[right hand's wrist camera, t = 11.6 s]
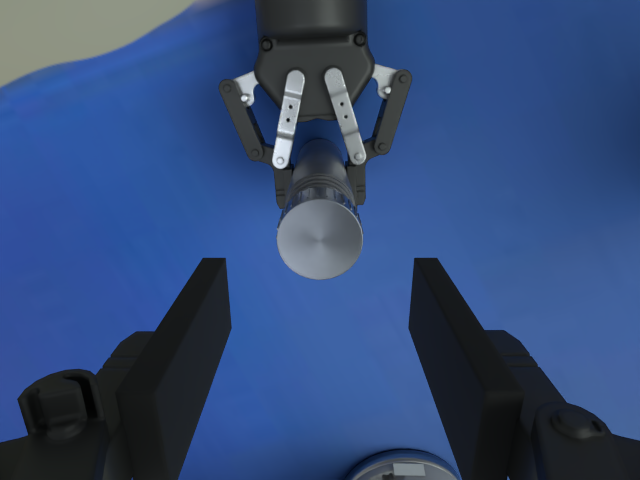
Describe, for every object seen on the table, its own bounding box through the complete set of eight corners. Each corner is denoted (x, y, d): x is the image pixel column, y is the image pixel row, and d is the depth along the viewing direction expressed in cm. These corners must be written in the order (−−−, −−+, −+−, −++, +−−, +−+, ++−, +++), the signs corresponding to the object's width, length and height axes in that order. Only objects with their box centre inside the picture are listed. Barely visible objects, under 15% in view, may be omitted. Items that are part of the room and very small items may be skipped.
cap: (356, 263, 23) (360, 283, 20) (279, 260, 23) (274, 279, 20) (363, 188, 21) (368, 200, 19) (280, 183, 21) (276, 195, 19)
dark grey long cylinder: (340, 184, 40) (359, 279, 21) (296, 182, 40) (275, 275, 21) (344, 140, 38) (367, 197, 19) (298, 137, 38) (276, 193, 19)
